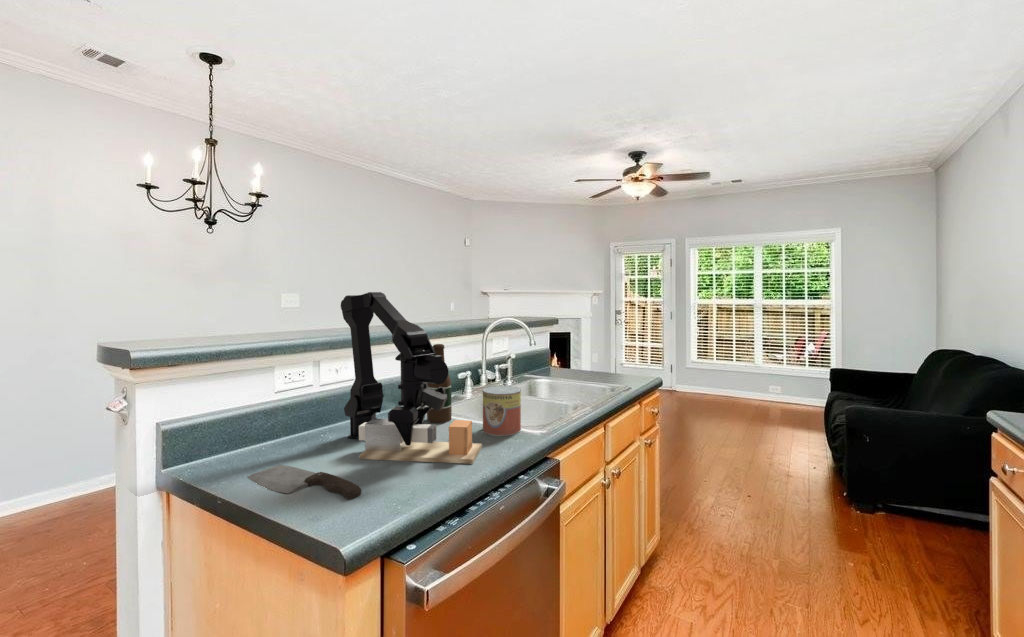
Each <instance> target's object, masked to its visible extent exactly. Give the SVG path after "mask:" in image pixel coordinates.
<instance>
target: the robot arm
mask: <svg viewBox="0 0 1024 637" xmlns="http://www.w3.org/2000/svg"><path fill="white" fill-rule="evenodd" d="M340 310H341V312H342V318H343V321H345V323H346V324H347V325H348V326H349V327H350V336H351V348H352V358H353V366H354V367H353V368H354V378H355V379H354V381H353V384H352V386H351V388H350V390H349V391H350V395H349V397H350V398H349V400H348V401H347V402H346V404H345V405H344V408H343V411H344V415H345V416H346V417H349V421H350V422H349V423H350V424H349V425H350V427H349V429H350V432H349V433H350V434H348V435H347V439H358V440H359V426H360V425H361V424H363V423H364V422H369V421H371V420H372V419H378V418H377V417H376V416H377V413H381V410H382V405H383V402H384V397H385V396H384V393H383V391H384V390H383V384H382V382H378V380H377V379H376V378H375V373H374V366H373V364H374V363H373V355H372V345H371V335H370V324H371V322H372V320H373V318H374V315H375V316H376V317H377V318H378V319H379V320H380V322H382V324H383V325H384V326H385V328H386V329H387V330H389V332H390V333H391V335H392V336H391V337H392V338H391V341H392V343H393V344H394V346H395V348H396V349H397V351H398V352H399V353H398V354H397V355H396V356H395V361H399V362H400V383H399V384H398V385H397V389H398V390H400V400H398V403H397V404H398V405H396V406H394V407H393V408H392V409H390V410H389V412H387V419H388V421H389V422H393V423H394V424H395V425H396V427H397V429H398V431H399V432H400V434H401V436H402V438H403V440H404V442H405V444H406V445H409V446H410V445H411V441H412V433H413V426H414V424H424V421H425V417H426V415H427V412H428V411H429V410H430V409H431V408H433V409H434V410H437V411H440V410H441V409H442V408H443V407H444V404H445V402H446V400H447V394H446V392H445V388H443V387H439V388H438V389H437V390H434V389H432V390H431V389H429V388H428V384H427V383H433V384H442V383H443V382H445V380H446V379H447V377H448V374H449V367H448V364H447V363H446V362H444V361H442V356H441V355H436V353H435V351H434V348H433V344H432V342H431V341H430V339H429V337H428V333H427V332H426V331H425V330H424V329H423V328H422V327H421V326H419V325H418V324H415V323H412V322H410V321H409V320H407V319H406V318H405V317H404V316H403V315H402V314H401V313H400V312H399V310H397V309H396V307H395V306H394V305H393V304H392V303H391V302H390V301H389V300H388V299H387V296H386V294H385V293H384V292H382V291H368V292H365V293H363V294H359V295H357V294H356V295H355V294H353V295H350V294H349V295H345V296H344V297H343V299H341V302H340ZM427 406H429V407H427Z"/></svg>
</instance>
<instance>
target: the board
mask: <svg viewBox="0 0 1024 637" xmlns="http://www.w3.org/2000/svg"><path fill="white" fill-rule="evenodd" d="M482 448H483V443H478V442H477V443H476V442H475V443H474V442H472V448H471V450H470V451H469V453H468V454H467V455H457V454H449V441H434V442H433V443H418V442H411V445H410V446H409V445H407V446H405V447H404V448H403V449H402V450H401V451H400V452H397V451H373V450H365V449H364V450H363V452H361V453H360V454H359V460H374V461H375V460H379V461H400V462H401V461H402V462H404V461H405V462H422V463H423V462H426V463H445V464H446V463H450V464H467V465H468V464H469V465H470V464H471V465H472V464H474V463H475V460H476V459H477V457H478V455H479V453H480V451H481V450H482Z"/></svg>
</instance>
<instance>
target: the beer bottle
mask: <svg viewBox="0 0 1024 637" xmlns="http://www.w3.org/2000/svg"><path fill="white" fill-rule="evenodd" d="M432 347H433V348H434V351H435V353H436V355H441V356H442V361H444V362H445V344H443V343H436V344H432ZM445 363H446V362H445ZM426 383H427V382H426ZM427 384H428V388H429V389H431V390H432V389H434V390H437V389H438V388H439V387H443V388H445V392H446V394H447V400H446V402H445V404H444V407H443V408H442V409H441V410H440V411H437V410H434V409H433V408H431V409H430V410H429V411H428V412H427V413H426V419H427V421H428V422H429V423H431V424H442V423H448V422H451V420H452V415H453V414H452V412H453V411H452V404H453V403H452V379H451V376H450V374H449V373H448V377H447V379H446V380H445V382H443V383H442V384H433V383H427ZM427 407H429V406H427Z"/></svg>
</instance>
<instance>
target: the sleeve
mask: <svg viewBox="0 0 1024 637" xmlns="http://www.w3.org/2000/svg"><path fill="white" fill-rule="evenodd" d="M364 443H365V444H364V446H365V447H364V448H365V449H364V451H365V450H373V451H397V452H400V451H401V450H402V449H403V448H404V447H405V446H407V445H406V444H405V442H401V437H400V432H399V431H398V429H397V427H396V425H395V424H394V423H393V422H389V421H388V418H377V419H372V420H371V421H369V422H367V423H366V424H365V440H364Z"/></svg>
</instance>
